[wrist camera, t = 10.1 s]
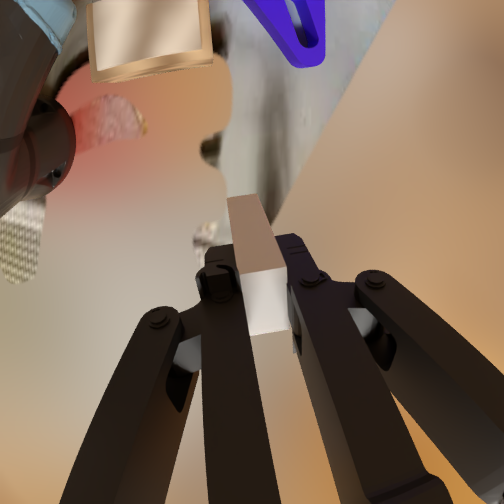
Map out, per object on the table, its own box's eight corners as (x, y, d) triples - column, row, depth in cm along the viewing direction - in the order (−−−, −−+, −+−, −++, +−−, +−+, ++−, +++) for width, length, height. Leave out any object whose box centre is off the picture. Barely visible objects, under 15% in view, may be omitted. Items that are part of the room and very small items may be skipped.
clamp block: (119, 82, 31) (88, 82, 22) (113, 21, 27) (83, 3, 17) (212, 65, 32) (213, 57, 23) (206, 3, 28) (206, -25, 18)
